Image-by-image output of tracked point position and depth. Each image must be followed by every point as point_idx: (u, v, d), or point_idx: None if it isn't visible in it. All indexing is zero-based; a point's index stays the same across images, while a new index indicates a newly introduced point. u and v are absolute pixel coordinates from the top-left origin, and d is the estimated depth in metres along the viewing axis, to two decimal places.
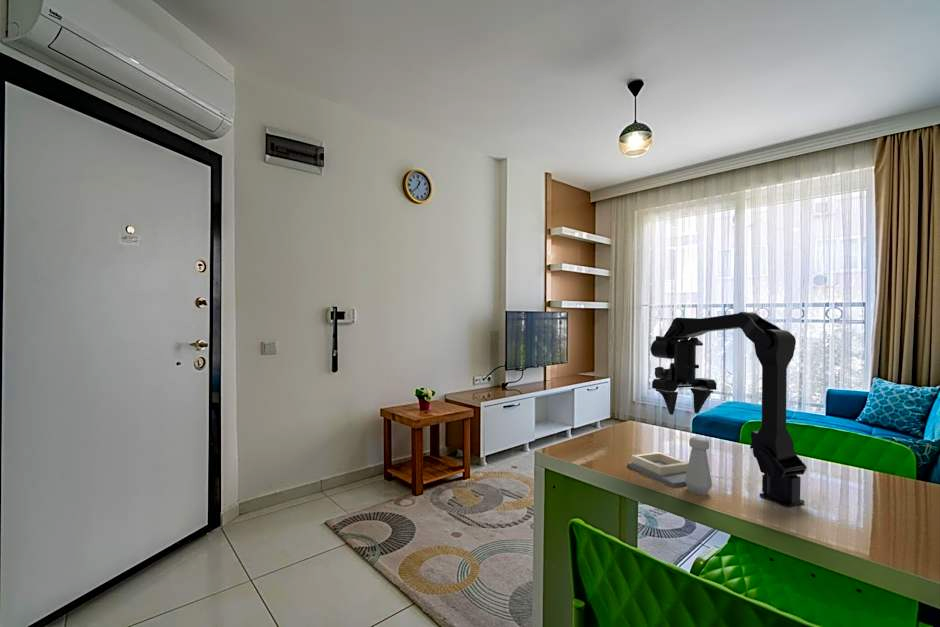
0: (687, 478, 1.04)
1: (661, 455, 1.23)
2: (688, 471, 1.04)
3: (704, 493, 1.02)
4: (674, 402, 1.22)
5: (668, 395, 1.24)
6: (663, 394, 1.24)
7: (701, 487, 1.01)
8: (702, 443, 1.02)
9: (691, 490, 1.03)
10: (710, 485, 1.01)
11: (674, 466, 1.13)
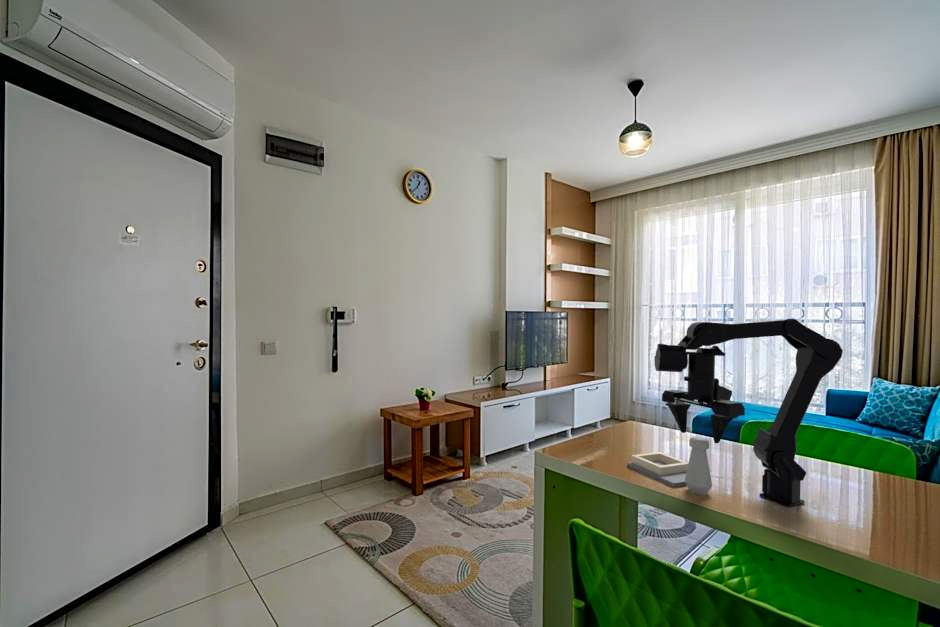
0: (687, 478, 1.04)
1: (661, 455, 1.23)
2: (688, 471, 1.04)
3: (704, 493, 1.02)
4: (675, 417, 1.08)
5: None
6: None
7: (701, 487, 1.01)
8: (702, 443, 1.02)
9: (691, 490, 1.03)
10: (710, 485, 1.01)
11: (674, 466, 1.13)
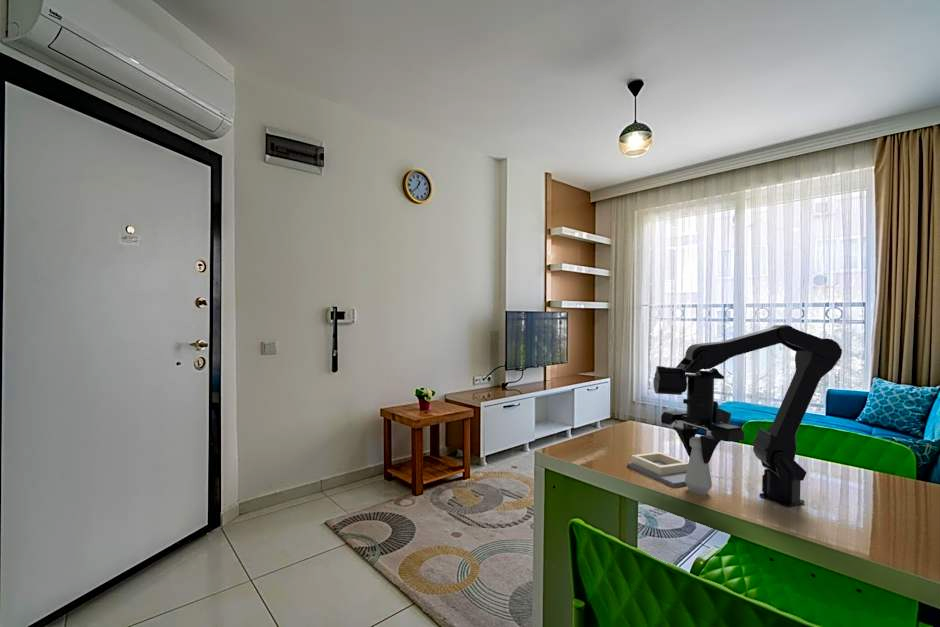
0: (687, 478, 1.04)
1: (661, 455, 1.23)
2: (688, 471, 1.04)
3: (704, 493, 1.02)
4: (683, 442, 1.06)
5: None
6: None
7: (701, 487, 1.01)
8: None
9: (691, 490, 1.03)
10: (710, 485, 1.01)
11: (674, 466, 1.13)
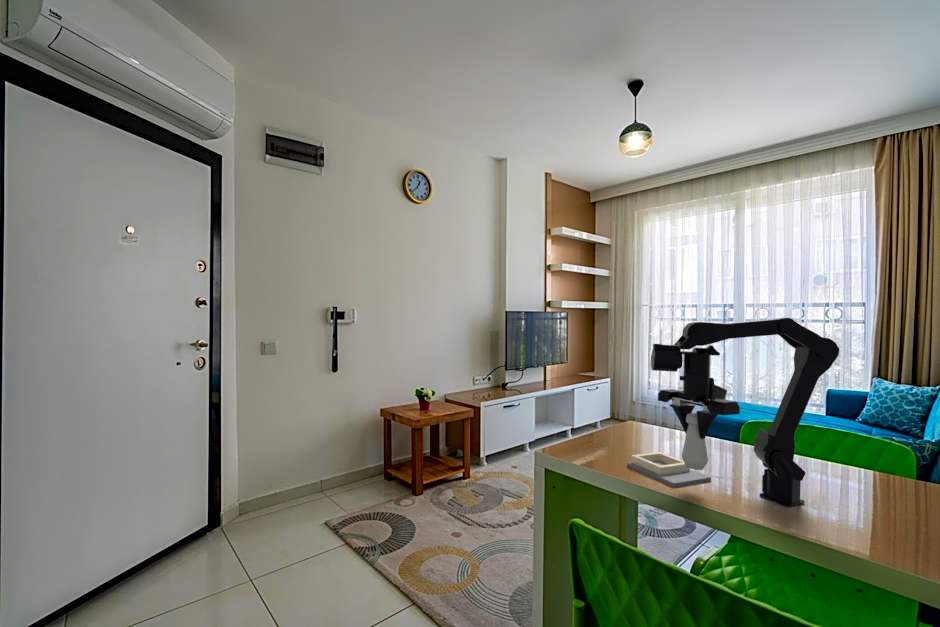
0: (684, 454, 1.05)
1: (661, 455, 1.23)
2: (685, 447, 1.05)
3: (700, 468, 1.03)
4: (680, 418, 1.07)
5: None
6: None
7: (697, 462, 1.02)
8: None
9: (688, 465, 1.04)
10: (706, 460, 1.03)
11: (674, 466, 1.13)
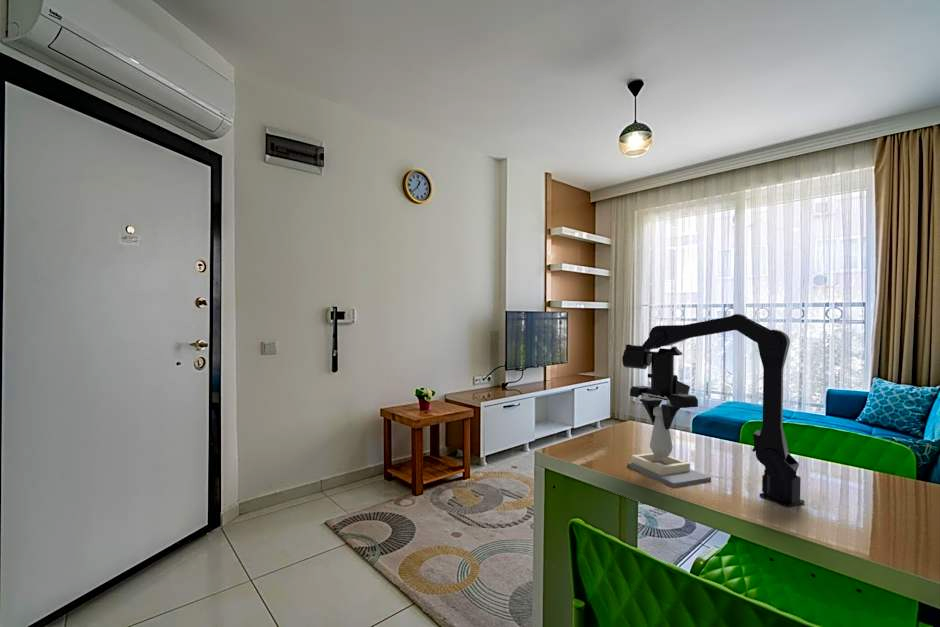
0: (651, 443, 1.18)
1: None
2: (652, 436, 1.18)
3: (665, 455, 1.16)
4: (648, 411, 1.20)
5: None
6: None
7: (662, 450, 1.15)
8: None
9: (654, 453, 1.17)
10: (670, 448, 1.16)
11: (674, 466, 1.13)
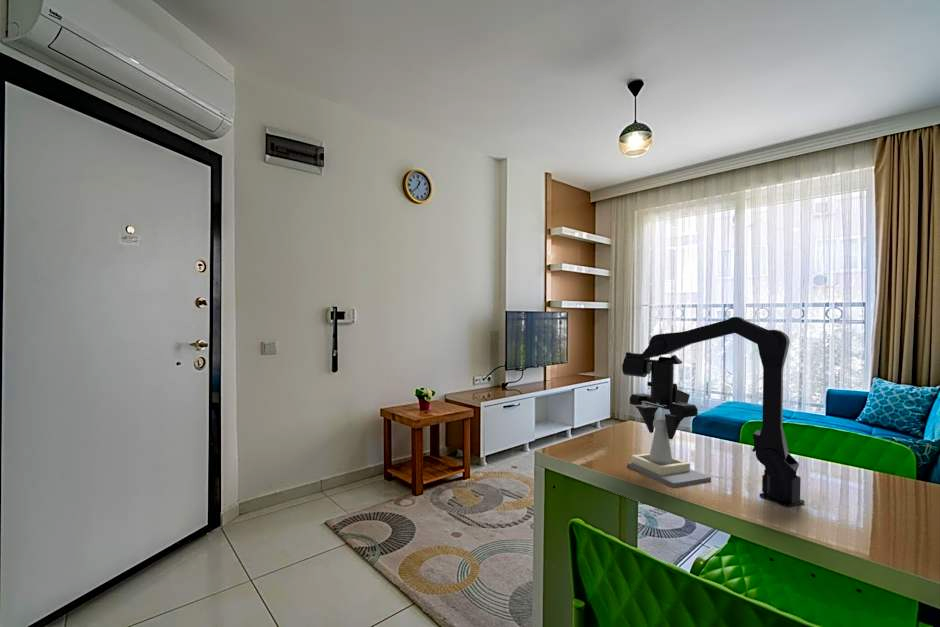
0: (651, 455, 1.18)
1: None
2: (652, 448, 1.18)
3: None
4: (644, 418, 1.21)
5: None
6: None
7: (662, 462, 1.15)
8: (663, 423, 1.16)
9: None
10: (670, 460, 1.16)
11: (674, 466, 1.13)
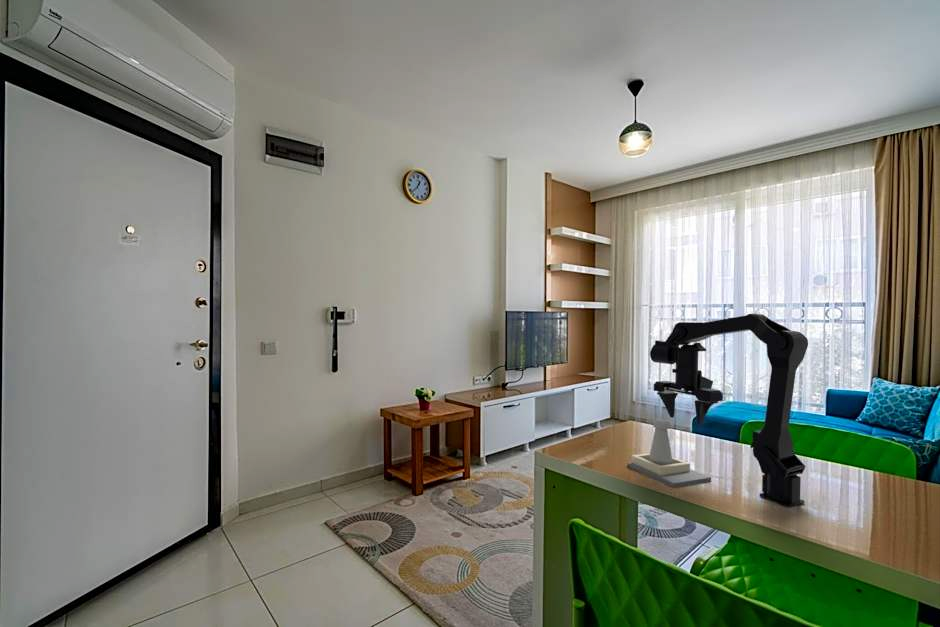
0: (651, 455, 1.18)
1: None
2: (652, 448, 1.18)
3: None
4: (665, 404, 1.26)
5: None
6: None
7: (662, 462, 1.15)
8: (663, 423, 1.16)
9: None
10: (670, 460, 1.16)
11: (674, 466, 1.13)
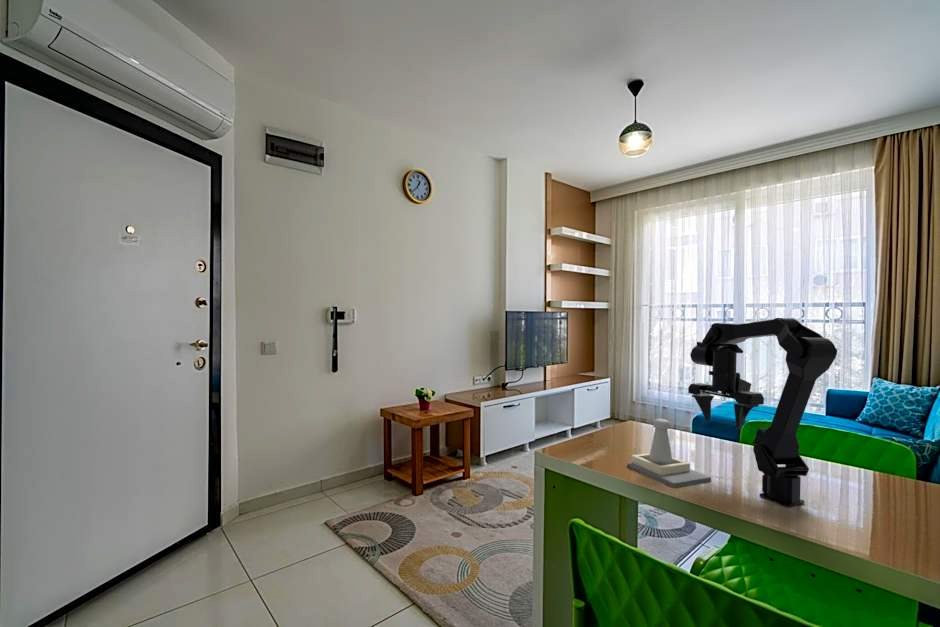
0: (651, 455, 1.18)
1: None
2: (652, 448, 1.18)
3: None
4: (701, 407, 1.23)
5: None
6: None
7: (662, 462, 1.15)
8: (663, 423, 1.16)
9: None
10: (670, 460, 1.16)
11: (674, 466, 1.13)
